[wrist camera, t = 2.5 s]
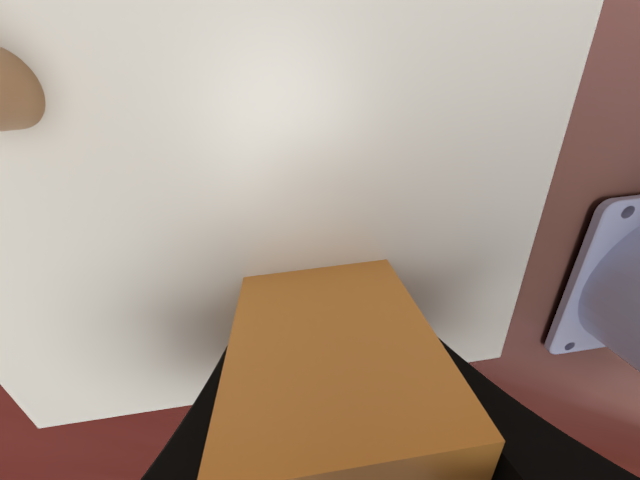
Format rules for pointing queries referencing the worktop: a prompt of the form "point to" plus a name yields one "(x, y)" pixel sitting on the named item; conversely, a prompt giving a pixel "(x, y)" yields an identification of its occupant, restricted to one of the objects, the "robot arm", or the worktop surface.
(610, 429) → the worktop surface
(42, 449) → the worktop surface
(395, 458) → the wooden toy cube
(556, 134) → the plate
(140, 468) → the worktop surface
